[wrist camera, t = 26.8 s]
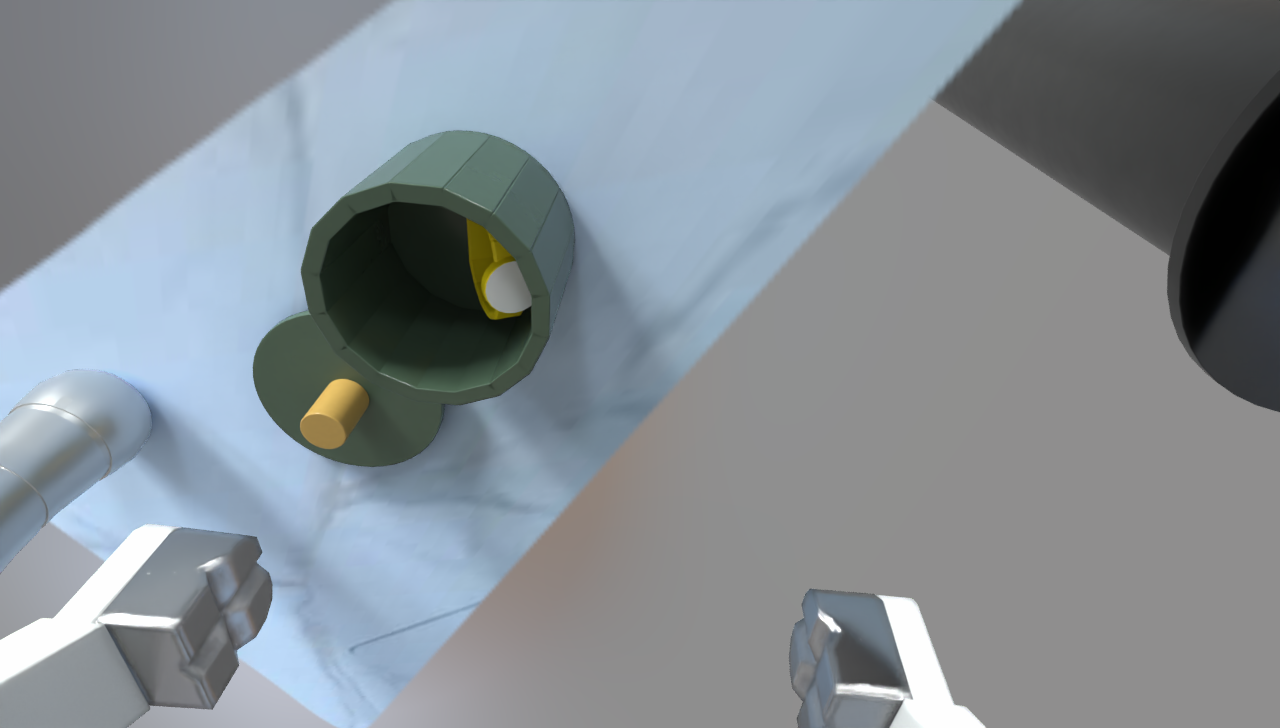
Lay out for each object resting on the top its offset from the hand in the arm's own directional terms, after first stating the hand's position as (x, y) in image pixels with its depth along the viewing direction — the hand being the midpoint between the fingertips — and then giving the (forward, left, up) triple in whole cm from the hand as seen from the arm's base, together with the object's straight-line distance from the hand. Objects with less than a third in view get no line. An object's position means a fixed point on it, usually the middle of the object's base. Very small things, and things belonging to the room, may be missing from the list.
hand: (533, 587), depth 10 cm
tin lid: (+16, +17, -26) cm, 35 cm away
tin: (+8, +6, -27) cm, 29 cm away
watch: (+8, +6, -26) cm, 28 cm away
